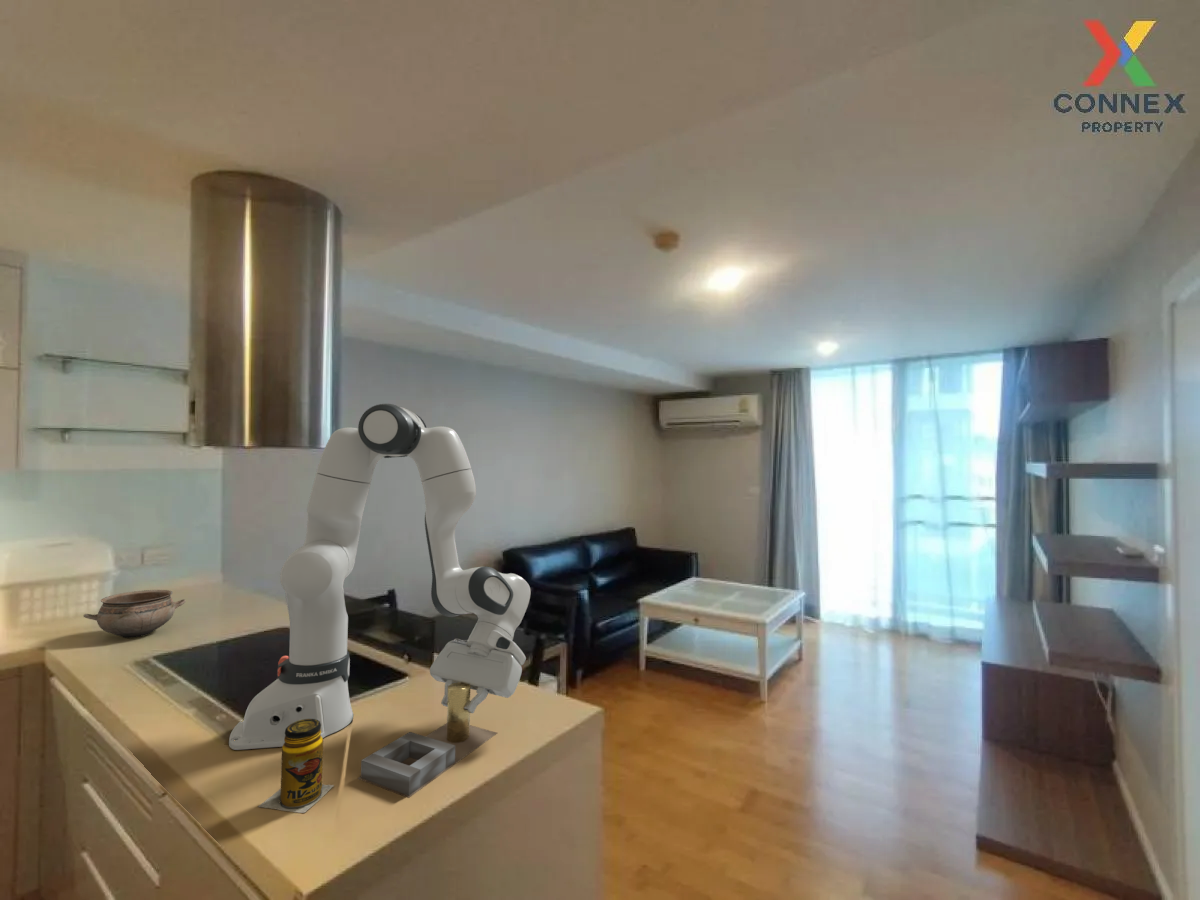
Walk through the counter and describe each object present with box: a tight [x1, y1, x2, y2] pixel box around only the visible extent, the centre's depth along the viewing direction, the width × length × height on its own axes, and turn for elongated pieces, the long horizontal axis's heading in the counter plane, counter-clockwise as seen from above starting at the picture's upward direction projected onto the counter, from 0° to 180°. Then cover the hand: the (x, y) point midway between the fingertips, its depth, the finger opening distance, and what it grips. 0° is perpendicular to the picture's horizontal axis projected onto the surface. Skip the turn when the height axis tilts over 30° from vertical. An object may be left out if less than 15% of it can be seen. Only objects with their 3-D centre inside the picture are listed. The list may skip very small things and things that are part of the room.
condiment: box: [257, 719, 335, 814], centre depth 89 cm, size 7×8×12 cm
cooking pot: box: [83, 589, 187, 639], centre depth 171 cm, size 25×19×12 cm
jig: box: [356, 722, 498, 799], centre depth 101 cm, size 24×12×4 cm, turn 154°
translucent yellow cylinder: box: [446, 682, 471, 743], centre depth 107 cm, size 4×4×10 cm
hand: (456, 708), depth 107 cm, fingers closed on translucent yellow cylinder, 4 cm apart
